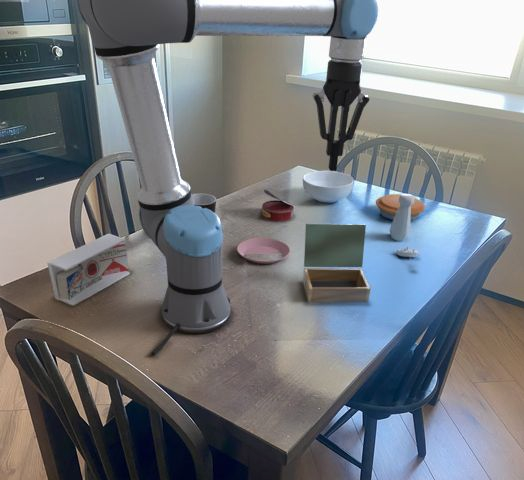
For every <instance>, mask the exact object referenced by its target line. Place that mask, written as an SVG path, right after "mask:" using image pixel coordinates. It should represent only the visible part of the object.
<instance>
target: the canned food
mask: <svg viewBox="0 0 524 480" xmlns="http://www.w3.org/2000/svg"><path fill="white" fill-rule="evenodd" d="M263 192H264V193H265V194H266V195H267V196H269V197H271V198H274V199H275V200H268V201H265V202H263V203H262V204H261V217H262V218H263V219H265V220H267V221H270V222H277V223H280V222H281V223H282V222H288V221H290V220H292V219H293V218H294V209H295V207H294V204H292V203H290V202H288V201H286V200H283V199H280V198H279V197H278V196H276V195H274V194H273V193H272V192H271V191H269V190H267V189H265V188H264V189H263Z"/></svg>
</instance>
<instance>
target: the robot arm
mask: <svg viewBox="0 0 524 480" xmlns="http://www.w3.org/2000/svg"><path fill="white" fill-rule="evenodd" d="M75 3H76V6H77V10H78V12H79V13H78V14H79V15H80V16H81V19H82V20H83V22H84V23H85V25H86V26H87V28H88V31H89V34H90V38H91V42H92V45H93V49H94V52H95V56H96V57H97V58H98V59H99V60H101V61H102V62H103V63H105V64H106V65H107V67H108V71H109V74H110V78H111V81H112V86H113V89H114V92H115V97H116V100H117V104H118V107H119V111H120V115H121V118H122V122H123V125H124V128H125V129H124V130H125V133H126V136H127V139H128V143H129V147H130V150H131V154H132V157H133V161H134V165H135V168H136V173H137V175H138V180H139V183H140V186H141V187H140V188H139V190H138V192H137V194H136V199H137V202H138V206H139V208H138V218H139V222H140V223H139V224H140V226H141V228H142V230H143V232H144V233H145V235H146V236H147V237H148V238H149V239H150V240H151V241H152V242H153V243H154V245H155V246H156V248H157V249H158V250H159V252H160V253H161V254H162V256H164V258H165V262H166V263H165V264H166V275H167V288H166V291H165V294H164V298H163V301H162V305H161V318H162V321H163V323H164V324H165V325H166V326H167V327H169V328H170V329H171V330H170V332H168V334H167V335H166V336H165V337H164V339H163V340H162V342H161V343H160V344H159V345H158V346H157V347H156V348H155V349H153V351H152V352H151V355H152V356H156V355H157V354H158V353H159V352H160V351H161V350H163V348H164V347H165V346H166V344H167V343H168V342H169V340H170V339H171V338H172V337H173V335H174V334H175V333H176V332H179V333H183V334H191V335H192V334H193V335H198V334H207V333H211V332H214V331H217V330H219V329H221V328H223V327H224V326H225V325H226V324H227V323H229V321H230V319H231V313H232V312H231V311H232V310H231V298H229V297H228V295H227V293H226V290H225V288H224V285H223V241H224V240H223V239H224V232H223V229H222V222H221V219H220V217H219V216H218V215H217V214H216V212H215V213H214V212H212V211H211V210H209V209H207V208H202V207H200V206H195V205H194V202H193V198H192V194H193V193H192V189H191V185H190V184H189V183H188V182H187V181H186V180H184V179H182V176H181V171H180V167H179V164H178V162H179V161H178V158H177V153H176V149H175V145H174V140H173V136H172V131H171V127H170V122H169V117H168V113H167V110H166V104H165V100H164V95H163V92H162V87H161V83H160V78H159V74H158V69H157V64H156V60H155V55H156V53H157V51H158V49H159V48H160V45H163V44H164V45H165V44H189V43H191V42H192V41H193V40H194V38H195V37H214V36H215V37H221V36H222V37H251V36H252V37H330V42H329V49H328V57H329V58H330V60H328V62H327V69H326V79H325V83H324V85H323V86H322V89H321V90H320V91H318V92H314V93H313V94H312V98H313V100H314V102H315V104H316V111H317V120H318V128H319V129H318V130H319V135H320V137H321V139H322V140H325V141H326V150H325V153H326V156H327V157H329V160H328V169H329V171H336V172H337V169H338V163H339V157H342V156H343V154H344V147H345V143H346V142H347V141H352V140H353V138H354V136H355V133H356V130H357V127H358V126H359V122H360V121H361V117H362V114H363V111H364V108H365V107H366V106H367V105H368V103H369V102H370V97H369V96H368V95H367V94H364V93H363V92H362V87H361V76H362V70H363V63H362V62H361V61H362V60H363V59H364V54H365V47H366V38H367V37H368V35H369V34H371V33H372V31H373V30H374V28H375V26H376V24H377V20H378V16H379V15H378V14H379V6H378V2H377V0H75ZM325 97H326V99H327V100H328V103H329V104H330V111H329V119H328V128H327V125H326V117H325V110H324V103H323V102H324V101H325ZM355 100H356V102H357V103H356V105H355V108H354V110H353V114H352V116H351V119H350V122H349V125H348V119H349V112H350V108H351V107H350V106H351V105H352V104H353V103H354V102H355ZM339 108H340V109H341V110H340V117H339V118H340V119H339V127H338V133H337V134H338V136H337V139H335V134H336V126H337V119H338V112H339Z"/></svg>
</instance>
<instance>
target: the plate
mask: <svg viewBox="0 0 524 480" xmlns="http://www.w3.org/2000/svg"><path fill="white" fill-rule="evenodd" d="M236 251H237V252H238V255H240V256H241V257H242V258H243V259H245V260H246V261H248V262H251V263H254V264H260V265H270V264H276V263H279V262H281V261H283V260H284V259H285V258H287V257H288V256H290V253H291V249H290V246H289V245H288V244H286V243H285V242H283V241H281V240H278V239H276V238H270V237H253V238H249V239H248V238H247V239H245V240H243V241H241V242H240V243H239V244H238V245H237V247H236ZM248 254H249V255H258V254H259V255H283V256H282V257H281V258H279V259H274V260H273V259H272V260H258V259H252V258H249V257H247V255H248Z"/></svg>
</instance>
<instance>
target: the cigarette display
mask: <svg viewBox="0 0 524 480" xmlns="http://www.w3.org/2000/svg"><path fill="white" fill-rule="evenodd" d="M126 241H127V240H126V238H123V237H120V236H117V235H114V234H112V233H107V234H104V235H102V236H100V237H98V238H96V239H94V240H91V241H90V242H87V243H85V244H83V245H80V246H79V247H77V248H74V249H72V250H70V251H68V252H65V253H63V254H62V255H60V256H57V257H56V258H54V259H51V260H49V261H47V262H46V264H47V267H48V268H47V269H48V273H49V277H50V281H51V285H52V290H53V294H54V299H55V300H57V301H61V302H63V303H65V304H67V305H70V306H73V307H74V306H76V305H77V304H80V303H81V302H83V301H84V300H86V299H88V298H90V297H92V296H94V295H95V294H97V293H98V292H100V291H102V290H104V289H106V288H107V287H109V286H111V285H113V284H115V283H116V282H118V281H120V280H121V279H124V278H125V277H127V276H129V275H130V273H131V272H130V267H129V258H128V252H127V245H126V244H125V243H124V242H126Z"/></svg>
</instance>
